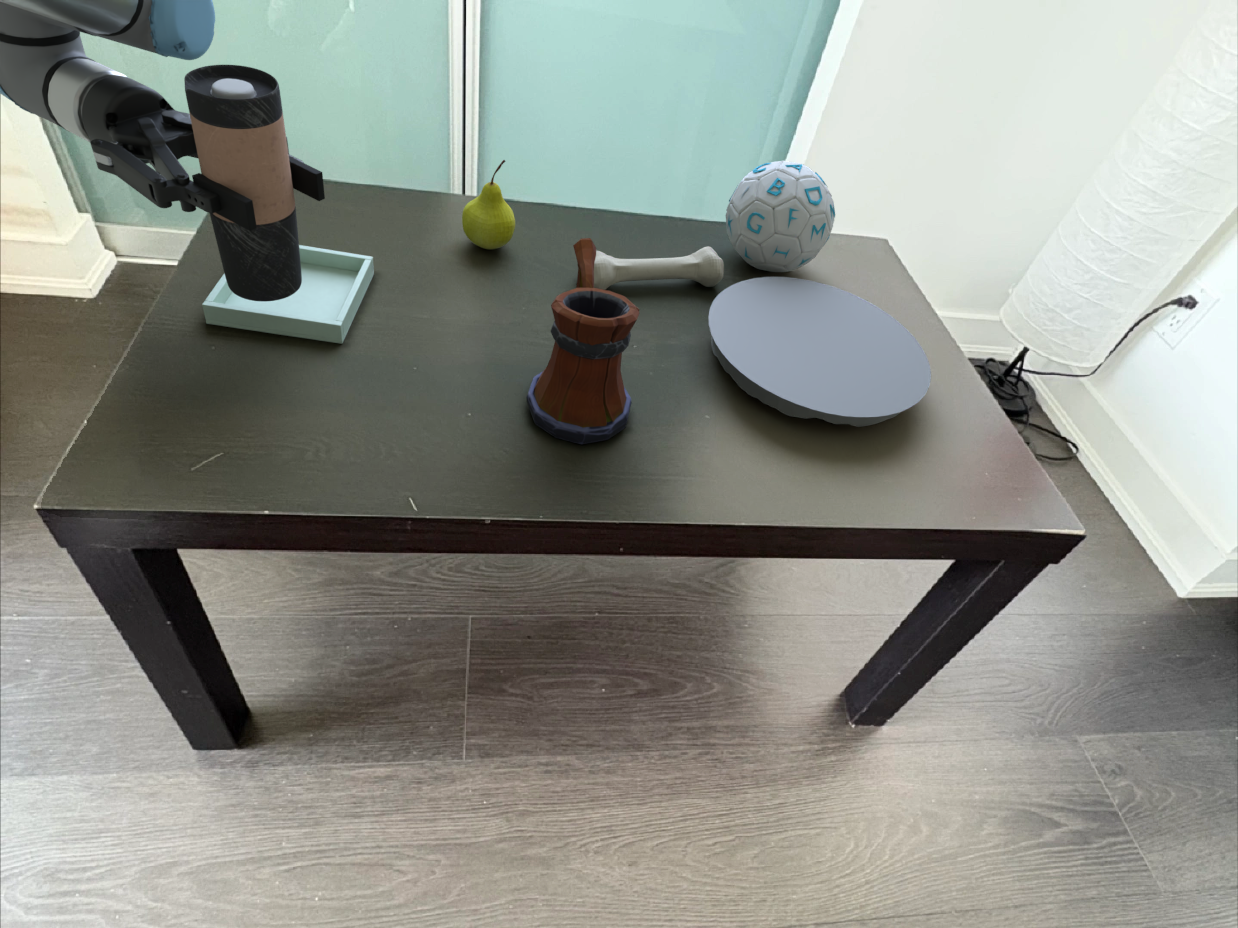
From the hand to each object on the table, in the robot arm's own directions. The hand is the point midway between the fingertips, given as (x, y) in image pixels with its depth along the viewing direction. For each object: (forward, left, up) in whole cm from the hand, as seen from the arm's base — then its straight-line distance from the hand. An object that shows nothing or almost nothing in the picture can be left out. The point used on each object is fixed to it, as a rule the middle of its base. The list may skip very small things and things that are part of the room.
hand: (287, 200), depth 72 cm
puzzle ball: (+65, +15, -19) cm, 69 cm away
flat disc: (+59, -9, -18) cm, 62 cm away
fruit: (+25, +22, -19) cm, 38 cm away
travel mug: (-3, +4, -11) cm, 12 cm away
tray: (0, +12, -18) cm, 22 cm away
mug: (+28, -9, -19) cm, 35 cm away
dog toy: (+45, +11, -19) cm, 49 cm away
